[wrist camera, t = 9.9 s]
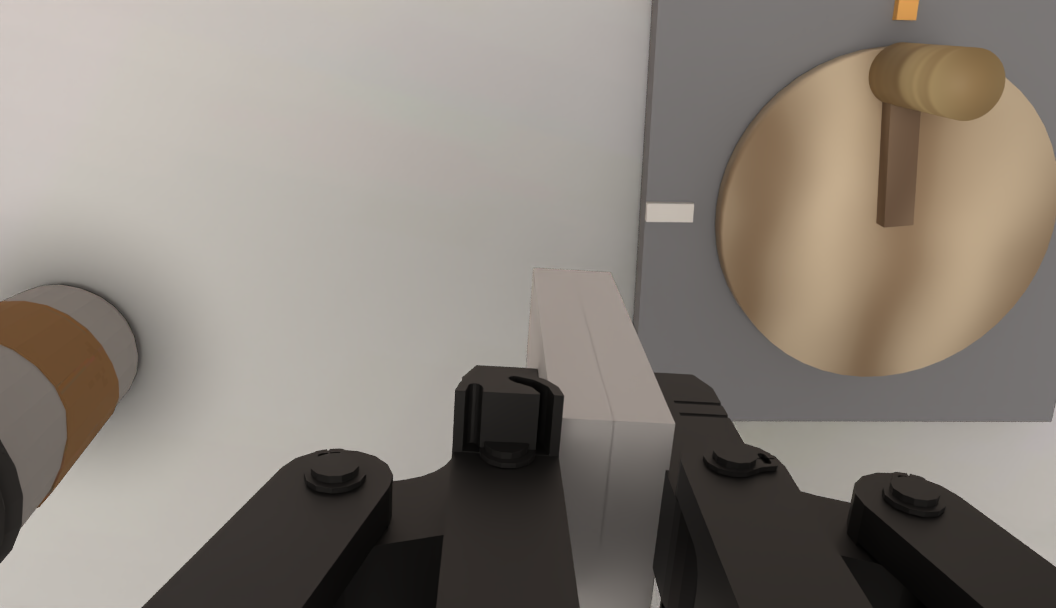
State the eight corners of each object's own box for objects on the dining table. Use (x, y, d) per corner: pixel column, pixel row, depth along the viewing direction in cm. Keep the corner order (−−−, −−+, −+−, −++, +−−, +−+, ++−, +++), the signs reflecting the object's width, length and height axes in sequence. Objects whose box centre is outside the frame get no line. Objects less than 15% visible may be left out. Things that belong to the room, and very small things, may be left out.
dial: (716, 375, 40) (759, 448, 33) (713, 55, 36) (762, 64, 29) (1020, 350, 40) (1123, 417, 33) (1055, 27, 36) (1182, 30, 29)
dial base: (1033, 408, 43) (1056, 425, 41) (628, 407, 42) (634, 424, 40) (1128, -26, 37) (1160, -29, 35) (654, -36, 36) (662, -39, 34)
